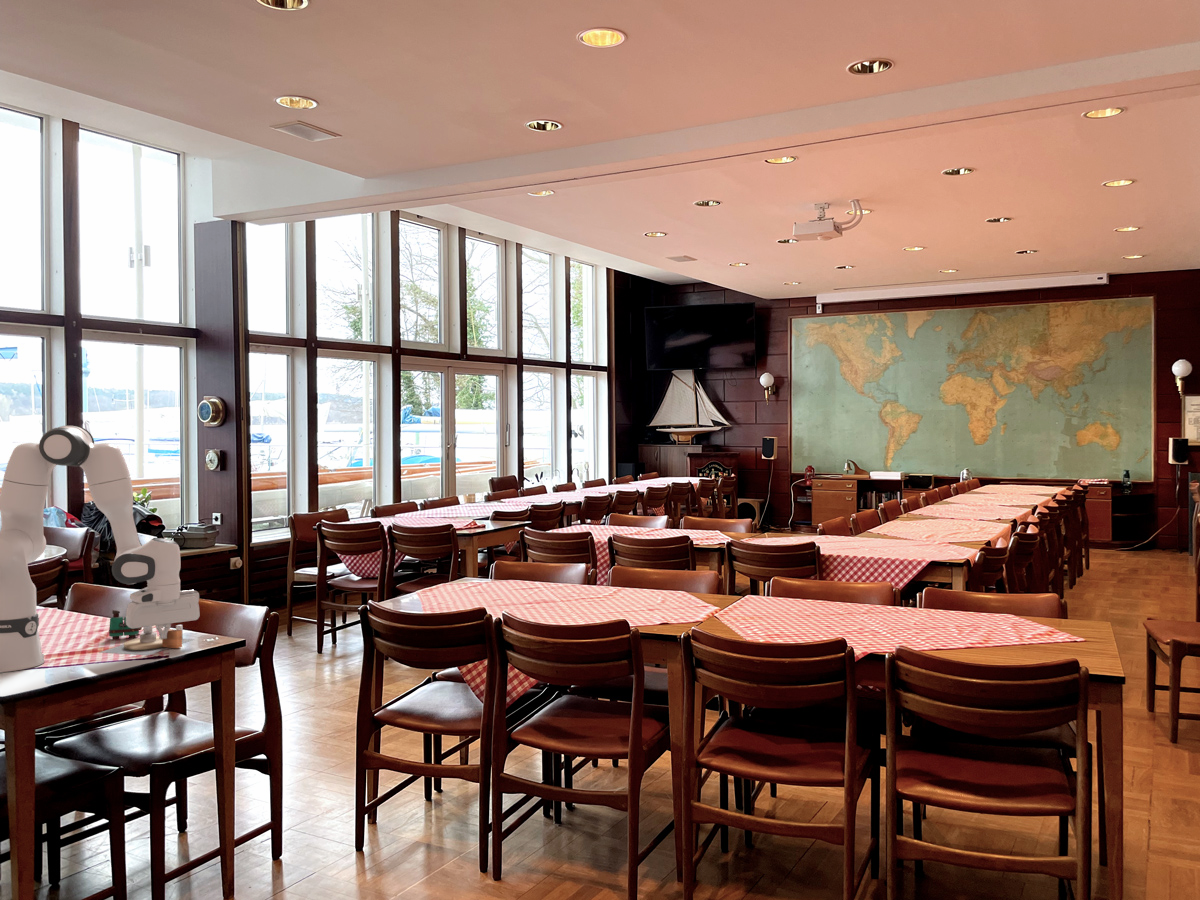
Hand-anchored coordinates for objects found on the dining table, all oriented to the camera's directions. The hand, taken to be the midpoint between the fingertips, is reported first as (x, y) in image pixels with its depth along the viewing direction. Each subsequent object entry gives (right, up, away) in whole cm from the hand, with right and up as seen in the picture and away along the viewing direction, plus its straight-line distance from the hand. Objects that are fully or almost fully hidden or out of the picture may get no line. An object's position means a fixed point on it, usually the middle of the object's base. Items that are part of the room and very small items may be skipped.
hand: (163, 638), depth 265 cm
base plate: (-7, -5, +5) cm, 9 cm away
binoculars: (-20, -5, +17) cm, 27 cm away
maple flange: (-4, -3, +4) cm, 6 cm away
